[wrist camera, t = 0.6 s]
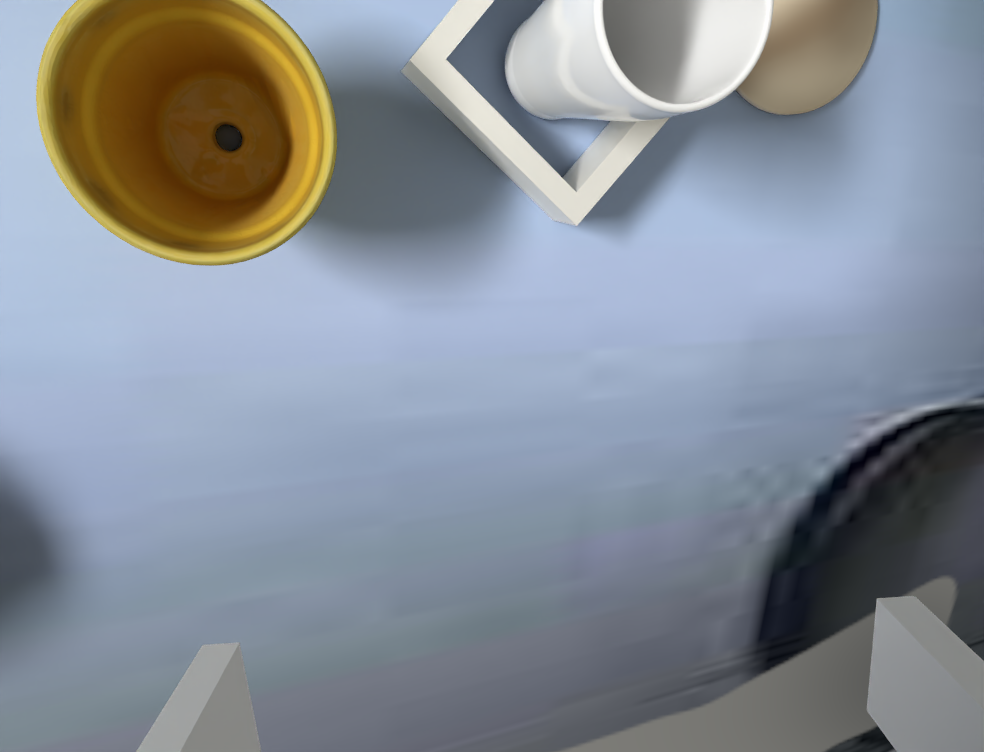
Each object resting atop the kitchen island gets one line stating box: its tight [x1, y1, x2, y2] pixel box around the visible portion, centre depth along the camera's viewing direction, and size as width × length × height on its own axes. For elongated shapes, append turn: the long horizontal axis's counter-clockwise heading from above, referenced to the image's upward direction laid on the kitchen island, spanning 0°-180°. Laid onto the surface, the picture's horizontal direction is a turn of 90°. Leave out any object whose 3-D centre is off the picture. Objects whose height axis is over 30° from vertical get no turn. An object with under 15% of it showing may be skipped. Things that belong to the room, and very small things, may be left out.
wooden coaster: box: [736, 0, 878, 115], centre depth 39 cm, size 10×10×1 cm
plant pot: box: [36, 0, 337, 265], centre depth 29 cm, size 10×10×10 cm
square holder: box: [401, 0, 670, 226], centre depth 35 cm, size 11×11×4 cm
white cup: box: [505, 0, 774, 122], centre depth 30 cm, size 7×7×15 cm
